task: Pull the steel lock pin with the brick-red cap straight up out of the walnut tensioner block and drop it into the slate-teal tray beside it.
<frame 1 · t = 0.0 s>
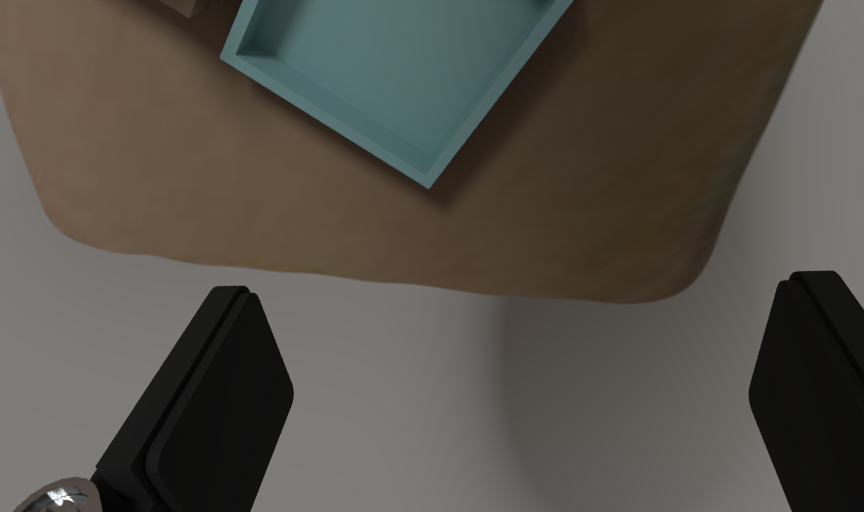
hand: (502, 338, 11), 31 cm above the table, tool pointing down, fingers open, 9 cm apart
tray: (398, 10, 38), on the table
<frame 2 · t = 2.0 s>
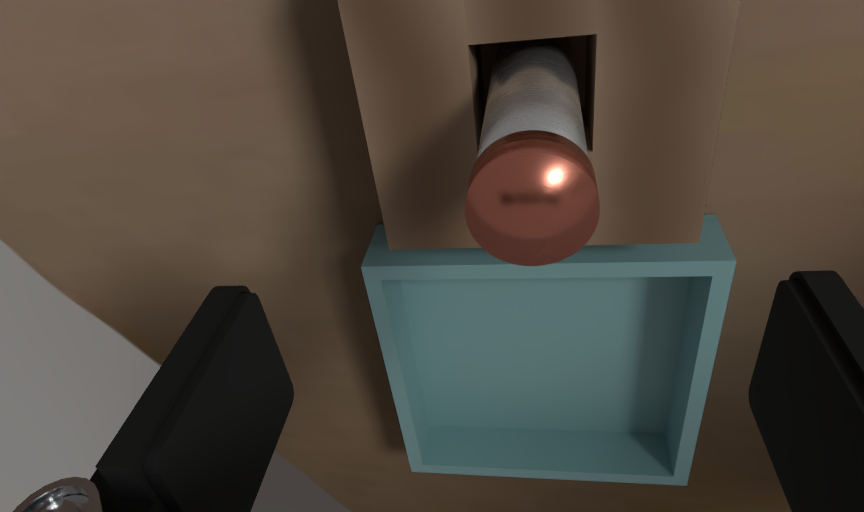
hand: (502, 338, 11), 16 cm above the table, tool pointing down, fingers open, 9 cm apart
tensioner block: (533, 52, 24), on the table
lock pin: (533, 60, 23), point 1 cm above the table, touching tensioner block
tray: (540, 339, 33), on the table
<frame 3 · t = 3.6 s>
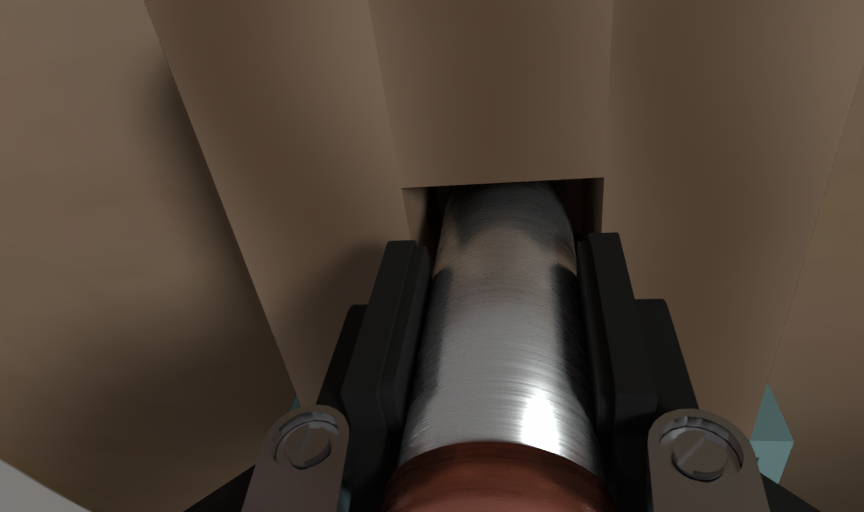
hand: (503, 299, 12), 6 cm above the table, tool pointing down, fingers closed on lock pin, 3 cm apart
tensioner block: (508, 158, 17), on the table
lock pin: (507, 175, 16), point 1 cm above the table, touching gripper, tensioner block
tray: (526, 483, 26), on the table
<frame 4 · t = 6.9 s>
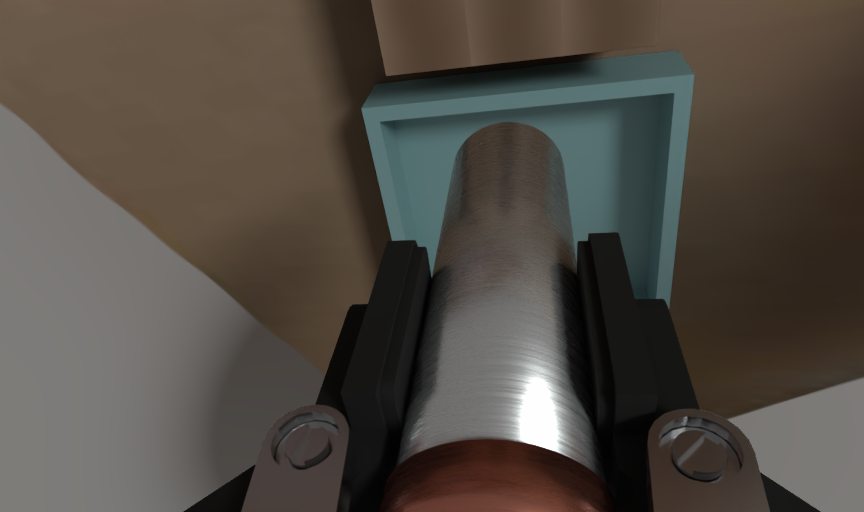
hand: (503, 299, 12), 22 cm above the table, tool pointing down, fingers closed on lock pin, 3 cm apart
lock pin: (507, 173, 16), point 17 cm above the table, touching gripper
tray: (527, 197, 36), on the table
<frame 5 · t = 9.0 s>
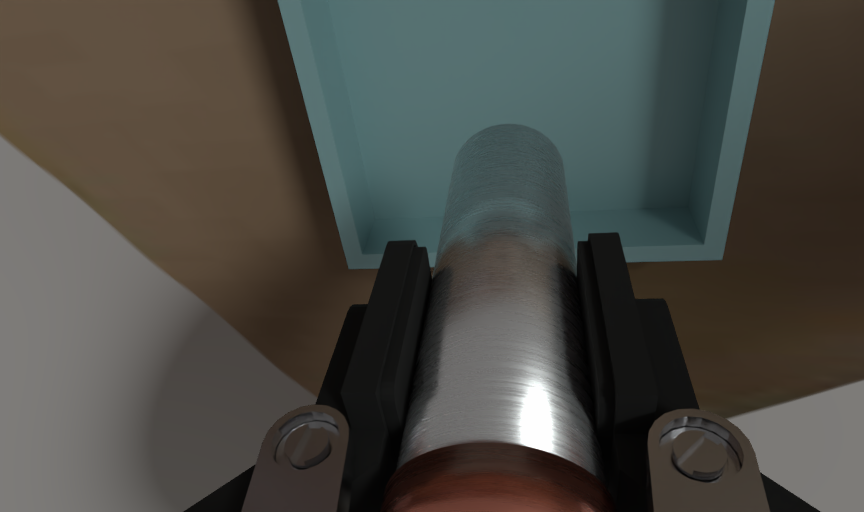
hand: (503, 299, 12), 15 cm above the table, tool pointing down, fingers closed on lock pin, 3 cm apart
lock pin: (507, 175, 16), point 10 cm above the table, touching gripper
tray: (518, 54, 24), on the table
when the fingers open (8 cm above the table, at t = 10.5 s): lock pin drops 2 cm, resting on tray.
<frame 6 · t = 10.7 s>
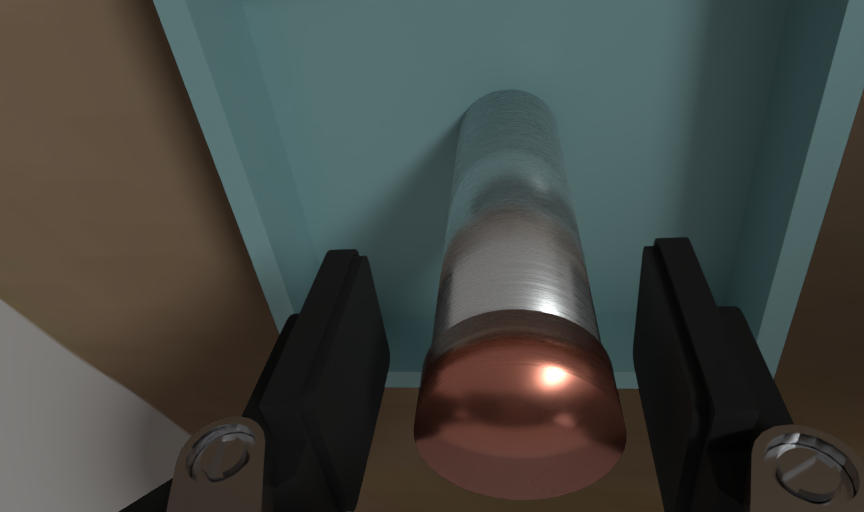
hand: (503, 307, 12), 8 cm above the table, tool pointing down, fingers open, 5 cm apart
lock pin: (508, 137, 18), point 1 cm above the table, touching tray
tray: (508, 129, 18), on the table
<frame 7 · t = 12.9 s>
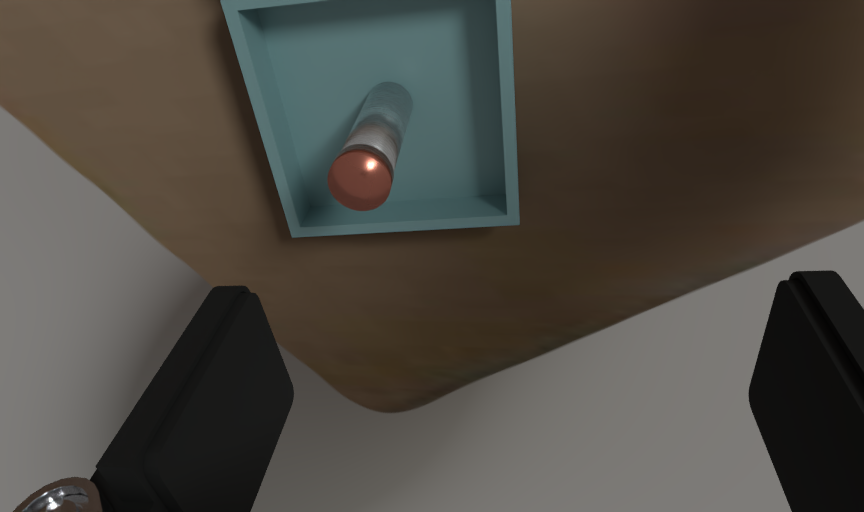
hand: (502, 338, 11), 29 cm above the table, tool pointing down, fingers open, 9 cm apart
lock pin: (390, 104, 38), point 1 cm above the table, touching tray
tray: (391, 101, 39), on the table
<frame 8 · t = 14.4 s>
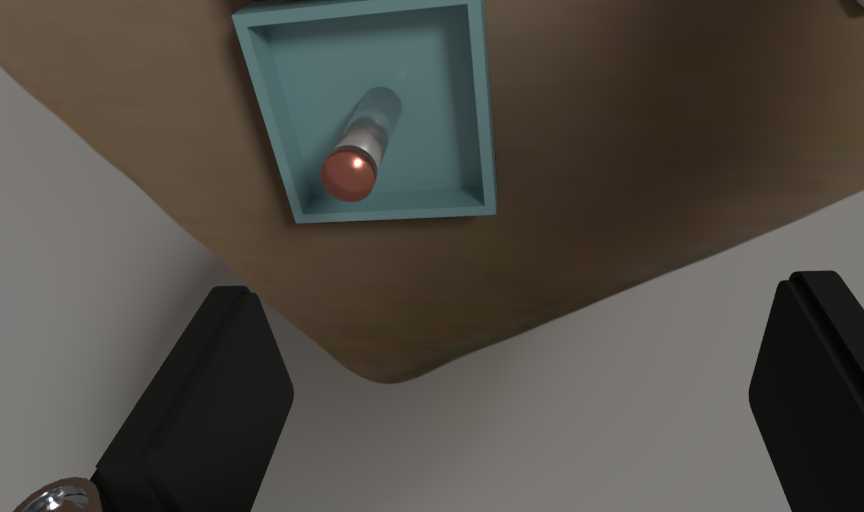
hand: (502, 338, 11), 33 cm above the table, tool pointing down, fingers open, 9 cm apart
lock pin: (381, 106, 43), point 1 cm above the table, touching tray
tray: (383, 103, 44), on the table
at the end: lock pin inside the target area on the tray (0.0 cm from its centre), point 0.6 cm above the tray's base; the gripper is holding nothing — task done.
